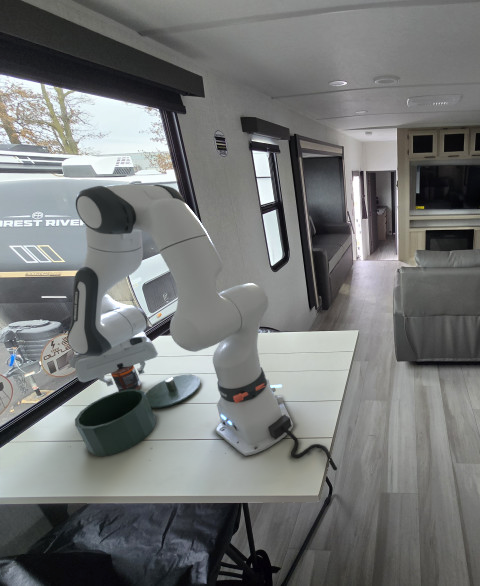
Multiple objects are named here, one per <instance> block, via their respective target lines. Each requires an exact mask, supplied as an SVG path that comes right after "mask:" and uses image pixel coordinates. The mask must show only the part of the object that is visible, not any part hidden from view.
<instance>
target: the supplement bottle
mask: <svg viewBox="0 0 480 586" xmlns="http://www.w3.org/2000/svg"><path fill="white" fill-rule="evenodd" d="M123 366H124V365H123V363H120V364H117V368H118V370H117V371H115V372H112V373H110V375H111V378H112V380H113V383H114V384H115V387H116V389H117V390H118V392H119V391H123V390H128V389H139V390H140V388H141V386H142V383H141V380H140V378H139V374H138V373H137V370H136V368H135V365H133V366H130V367H123Z"/></svg>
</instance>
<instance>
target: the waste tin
mask: <svg viewBox="0 0 480 586" xmlns="http://www.w3.org/2000/svg"><path fill="white" fill-rule="evenodd" d="M145 394H146V393H145V391H143V390H141V389H140V388H139V389H128V390H123V391H119V390H118V391H115V392H112V393H110V394H108V395H105V396H102V397H100V398H99V399H97V400H95V401H93V402H92V403H89V404H88V405H87V406H86V407H84V408H83V409H82V410H81V411H80V412H79V413H78V414H77V416H76V417H75V418H74V427H75V428H76V430H77V432H78V433H79V435H80V437H81V439H82V441H83V442H84V445H85V446H86V448H87V450H88V452H89V453H91V454H92V455H93V456H97V457H107V456H112V455H115V454H116V455H117V454H119V453H121V452H124V451H127V450H129V449H131V448H132V447H134V446H135V445H138V444H139V443H141V441H143V440H144V439H145V438H146V437H148V436H149V435H150V434H151V433H152V432H153V430H154V428H155V427H156V424H157V419H156V417H155V414H154V412H153V410H152V409H153V408H151V407H150V404H149V402H148V400H147V397H146V395H145Z"/></svg>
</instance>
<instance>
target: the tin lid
mask: <svg viewBox="0 0 480 586" xmlns="http://www.w3.org/2000/svg"><path fill="white" fill-rule="evenodd" d="M200 387H201V379H200V378H199V376H197V375H196V374H195V375H194V374H180V375H176V376H171V377H170V376H169V377H167V378H166V379H164V380H162V381H160V382H158V383H157V384H155V385H154V386H151V388H150V389H148V390H147V391H146V393H145V395H146V397H147V400H148V402H149V404H150V407H151V409H162V408H168V407H170V406H171V407H172V406H173V405H176V404H179V403H181V402H183V401H185V400H187V399H188V398H190V397H191V396H192V395H193V394H195V393H196V392H197V391H198V389H200Z"/></svg>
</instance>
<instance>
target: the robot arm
mask: <svg viewBox="0 0 480 586" xmlns="http://www.w3.org/2000/svg"><path fill="white" fill-rule="evenodd" d="M75 209H76V213H77V215H78V217H79V219H80V220H81V221H82V223H83V224H84V225H85V237H86V255H85V258H84V260H83V263H82V265H81V266H80V268H79V269H78V270H76V273H75V275H74V279H73V286H72V287H73V288H72V301H71V303H72V304H71V320H70V326H69V328H68V332H67V335H66V336H67V338H66V340H67V344H68V346H69V348H70V349H71V350H72V351H73V352H74V354H73V355H72V356H70V357H69V358H68V361H67V362H68V364H69V366H70V367H71V368H72V369H74V370H75V374H76V377H77V380H78V381H79V382H80V383H86V382H89V381H92V380H95V379H98V380H99V381H100V382H103V383H105V384H106V386H107V387H111V386H113V385H114V380H113V378H112V377H111V378H110V377H109V378H107V377H106V376H107V375H109V374H110V375H111V373H112V372H115V371H117V370H118V368H117V364H120V363H123V365H124V366H123V367H130V366H135V365H138V364H139V367H138V368H136V369H137V370H136V371H137V372H138V376H141V375H143V374H145V370H144V369H145V366H146V362H147V361H150V360H152V359H156V358H157V357H158V354H159V353H158V350H157V348H156V347H155V346H156V345H154V343H153V341H152V340H151V339H150V338H149V337H147V334H146V332H144V331H145V330H146V329H147V328H148V325H149V321H148V320H149V319H148V316H147V314H146V312H145V310H144V309H143V308H141V307H139V306H137V305H133V304H125V303H123V302H122V303H121V302H119V301H116V300H115V299H113V298H112V297H111V295H109V294H107V293H109V291H110V290H111V289H112V288H113V287H115V286H116V285H118V283H120V282H121V281H123V280H125V279H126V278H127V277H129V276H131V275H132V274H134V273H136V271H137V270H138V269H139V268H140V266H141V265H142V262H143V258H144V245H143V236H142V232H144V233H146V234H147V235H149V237H150V238H151V239H152V241H153V243H154V245H155V247H156V249H157V251H158V253H159V254H160V256H161V257H162V259H163V261H164V263H165V265H166V267H167V269H168V270H169V272H170V274H171V276H172V278H173V280H174V283H175V287H176V291H177V292H176V293H177V305H176V308H175V312H174V314H173V316H172V318H171V319H170V322H169V323H170V324H169V333H170V337H171V339H172V340H173V342H174V343H175V344H176V345H177V346H178V347H180V348H181V349H183V350H185V351H188V352H194V353H197V352H199V351H202V350H205V349H209V348H211V347H213V346H216V345H217V344H218V345H217V347H216V348H215V350H214V352H213V355H212V365H213V368H214V372H215V375H216V379H217V383H216V385H217V390H218V392H219V395H220V398H219V400H218V401H217V403H216V408H217V411H218V415H219V419H220V420H219V421H220V422H219V424H218V425H217V426H216V429H215V431H216V433H217V435H218V436H220V437H221V438H222V439H223V440H224V441H226V442H227V443H228V444H230V445H231V447H234V449H235V450H237V452H239V453H240V454H242V455H243V456H245V457H247V456H252V455H255V454H258V453H261V452H262V451H265V450H267V449H268V448H270V447H273V446H274V445H275V444H277V443H279V442H280V441H281V440H282V439H284V438H285V437H286V436H287V435H288V436H289V437H290V438H291V439H292V440H293V442H294V446H293V448H292V449H291V453H290V456H291V457H292V458H294V459H299V458H301V457H303V456H304V455H306V454H307V453H309V452H310V451H311V450H313V449H319V450H322V451H323V452H324V454H325V455H326V458H327V460H328V462H329V465H330V466H331V468H332V470H333V471H337V470H338V467H337V465H336V464H335V462H334V460H333V458H332V457H331V458H330V455H331V453H330V450H329V449H328V448H327V447H326V446H325V445H324V444H320V443H313V444H311V445H310V446H308V447H306V448H305V449H304V450H303V451H301V452H300V453H296V451H297V449H298V448H299V440H298V438H297V437H296V436H295V434H294V433H293V432H292V430H293V428H294V423H293V421H292V418H291V417H290V414H289V412H288V410H287V407H286V406H285V404H284V399H283V397H282V396H281V395H277V394H275V392H276V391H277V390H276V388H282V387H283V385H282V384H273V385H271V384H270V380H269V379H268V378H267V375H266V373H265V371H264V369H263V368H262V366H261V361H260V356H259V349H258V339H259V332H260V327H261V323H262V320H263V317H264V315H265V313H266V312H267V310H268V307H269V298H268V295H267V294H266V291H265V290H264V289H262V288H261V287H260V285H257V284H255V283H252V282H251V283H249V282H248V283H243V284H239V285H234V286H232V287H229V288H227V289H225V290H222V291H219V292H218V287H217V279H218V276H219V275H220V274H221V272H222V270H223V267H224V263H223V260H222V258H221V256H220V255H219V252H218V250H217V248H216V247H215V244H213V242H212V240H211V238H210V236H209V234H208V232H207V230H206V229H205V228H204V226H203V224H202V222H201V221H200V220H199V217H197V216H196V214H195V213H194V212H193V210H192V209H191V208H190V207H189V205H188V204H187V203H186V201H185V199H184V197H183V194H181V193H180V191H178V190H177V189H175V188H174V187H171V186H169V185H163V184H153V185H152V184H134V183H120V184H111V185H105V186H104V185H95V186H91V187H87V188H84V189H81V190H80V191H79V192H78V193H77V195H76V198H75ZM329 459H330V461H329Z"/></svg>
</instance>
